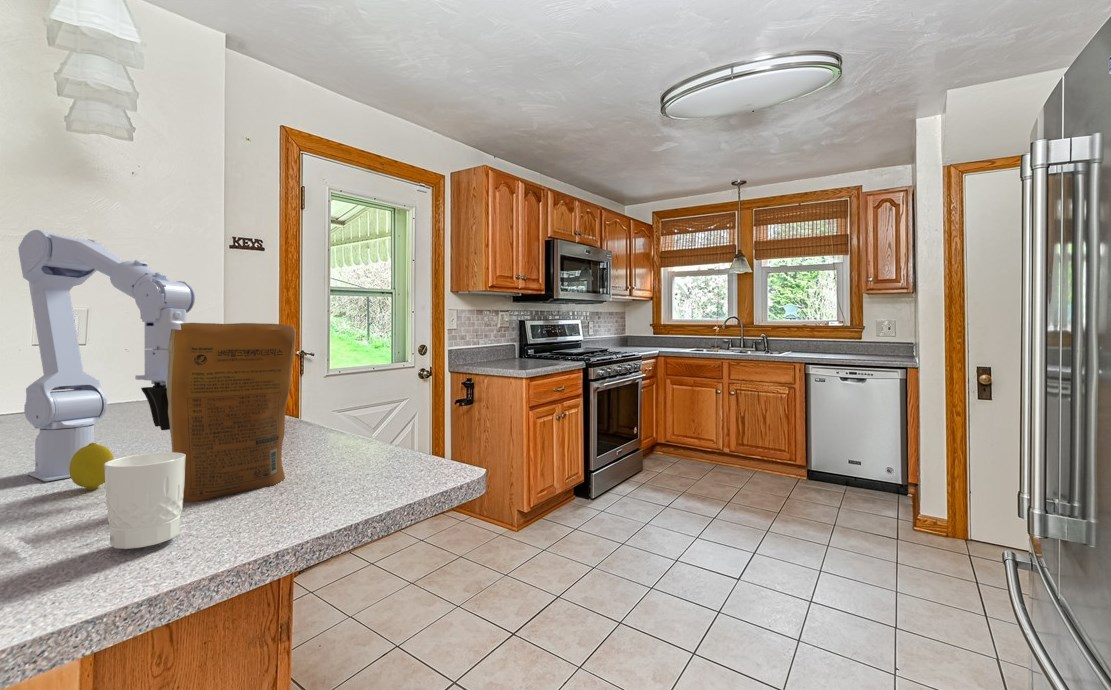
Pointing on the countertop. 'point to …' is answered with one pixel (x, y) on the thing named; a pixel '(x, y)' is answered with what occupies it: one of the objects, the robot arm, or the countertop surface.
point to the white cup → (144, 498)
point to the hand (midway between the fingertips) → (165, 427)
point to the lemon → (89, 466)
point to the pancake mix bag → (229, 404)
